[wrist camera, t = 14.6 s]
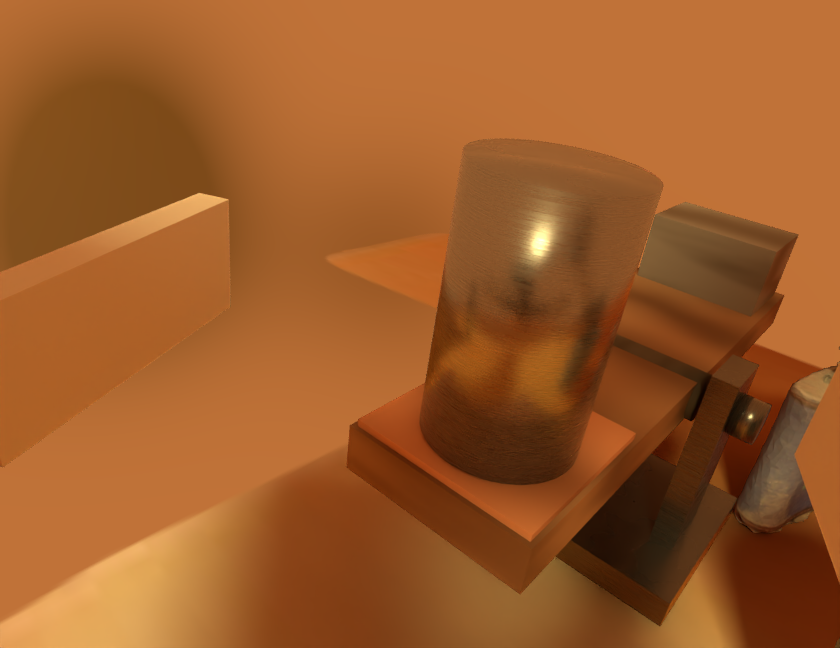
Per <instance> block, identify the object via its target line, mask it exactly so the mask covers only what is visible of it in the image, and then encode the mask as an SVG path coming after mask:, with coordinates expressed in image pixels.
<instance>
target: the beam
mask: <svg viewBox="0 0 840 648" xmlns="http://www.w3.org/2000/svg"><path fill="white" fill-rule="evenodd" d="M797 237H798V234H795V233H791V232H788V231H784V230H781V229H777V228H774V227H770V226H767V225H763V224H760V223H757V222H753V221H750V220H746V219H742V218H739V217H735V216H732V215H729V214H725V213H722V212H718V211H715V210H711V209H708V208H704V207H701V206H697V205H694V204H690V203H687V202H684V203H682V204H680V205H677V206H675V207H672V208H670V209H668V210H666V211H663V212H660V213H658V214H656V215H655V217H654V220H653V224H652V227H651V230H650V234H649V237H648V241H647V244H646V248H645V251H644V254H643V257H642V261H641V264H640V267H639V268H637V271H636V274H635V277H634V281H633V284H632V287H631V290H630V293H629V296H628V299H627V303H626V306H625V309H624V312H623V315H622V318H621V321H620V325H619V328H618V331H617V334H616V337H615V340H614V343H613V347H612V350H611V353H610V356H609V359H608V362H607V365H606V369H605V372H604V375H603V378H602V381H601V384H600V387H599V391H598V394H597V397H596V400H595V403H594V406H593V409H592V413H591V416H590V419H589V422H588V425H587V428H586V431H585V435H584V438H583V441H582V444H581V447H580V450H579V454H578V457H577V459H576V461H575V463H574V465H573V466H572V467H571V468H570V469H569V470H568V471H567V472H566V473H564V474H563V475H561V476H559V477H558V478H556V479H553V480H550V481H547V482H543V483H538V484H530V485H512V484H502V483H497V482H492V481H488V480H484V479H481V478H478V477H475V476H473V475H470V474H468V473H466V472H463V471H461V470H459V469H457V468H456V467H454V466H452V465H451V464H449V463H448V462H446V461H445V460H444V459H442V458H441V457H440V456H439V455H438V454H437V453H436V452H434V450H433V449H432V448H431V447H430V446H429V445H428V443H427V441H426V440H425V438H424V436H423V434H422V432H421V428H420V420H419V417H420V411H421V405H422V399H423V393H424V387H425V383H424V384H422V385H420V386H418V387H417V388H415V389H413V390H411V391H409V392H407V393H406V394H404V395H402V396H400V397H398V398H396V399H395V400H393V401H391V402H389V403H387V404H385V405H384V406H382V407H380V408H378V409H376V410H374V411H373V412H371V413H369V414H367V415H365V416H363V417H361V418H360V419H358V421H357V422H355V423H354V424H352V425H350V431H349V444H348V457H347V468H348V469H350V470H351V471H352V472H354V473H355V474H357V475H358V476H359V477H361V478H362V479H363V480H365V481H366V482H367V483H369V484H370V485H372V486H373V487H374V488H376V489H377V490H378V491H380V492H381V493H382V494H384V495H385V496H387V497H388V498H389V499H391V500H392V501H393V502H395V503H396V504H397V505H399V506H400V507H402V508H403V509H404V510H406V511H407V512H408V513H410V514H411V515H413V516H414V517H415V518H417V519H418V520H419V521H421V522H422V523H423V524H425V525H426V526H428V527H429V528H430V529H432V530H433V531H434V532H436V533H437V534H438V535H440V536H441V537H443V538H444V539H445V540H447V541H448V542H449V543H451V544H452V545H453V546H455V547H456V548H458V549H459V550H460V551H462V552H463V553H464V554H466V555H467V556H468V557H470V558H471V559H473V560H474V561H475V562H477V563H478V564H479V565H481V566H482V567H484V568H485V569H486V570H488V571H489V572H490V573H492V574H493V575H494V576H496V577H497V578H499V579H500V580H501V581H503V582H504V583H505V584H507V585H508V586H509V587H511V588H512V589H514V590H515V591H516V592H518V593H519V594H521V593H522V592H523V591H524V590H525V588H526V587H527V586H528V585H529V584H530V583H531V582H532V581H533V580H534V579H535V578H536V577H537V576H538V575H539V573H540V572H541V571H542V570H543V569H544V568H545V567H546V566H547V565H548V564H549V563H550V562H551V561H552V559H553V558H554V557H555V556H556V555H557V554H558V553H559V552H560V551H561V550H562V549H563V548H564V547H565V546H566V544H567V543H568V542H569V541H570V540H571V539H572V538H573V537H574V536H575V535H576V534H577V533H578V532H579V530H580V529H581V528H582V527H583V526H584V525H585V524H586V523H587V522H588V521H589V520H590V519H591V518H592V517H593V515H594V514H595V513H596V512H597V511H598V510H599V509H600V508H601V507H602V506H603V505H604V504H605V503H606V502H607V500H608V499H609V498H610V497H611V496H612V495H613V494H614V493H615V492H616V491H617V490H618V489H619V488H620V486H621V485H622V484H623V483H624V482H625V481H626V480H627V479H628V478H629V477H630V476H631V475H632V474H633V473H634V471H635V470H636V469H637V468H638V467H639V466H640V465H641V464H642V463H643V462H644V461H645V460H646V459H647V458H648V456H649V455H650V454H651V453H652V452H653V451H654V450H655V449H656V448H657V447H658V446H659V445H660V444H661V442H662V441H663V440H664V439H665V438H666V437H667V436H668V435H669V434H670V433H671V432H672V431H673V430H674V429H675V427H676V426H677V425H678V424H679V423H680V422H681V421H682V420H683V419H684V418H685V419H688V420H690V421H692V420H694V418H695V417H696V415H697V413H698V410H699V408H700V405H701V402H702V400H703V397H704V395H705V392H706V390H707V387H708V384H709V382H710V379H711V377H712V375H713V374H714V373H715V372H716V371H717V370H718V369H719V368H720V367H721V366H722V365H723V364H724V363H725V362H726V361H727V360H728V359H729V358H730V357H731V356H732V355H736V356H738V357H742V356H743V354H744V353H745V352H746V351H747V350H748V349H749V348H750V347H751V346H752V345H753V344H754V343H755V342H756V340H757V339H758V338H759V337H760V336H761V335H762V334H763V333H764V332H765V331H766V330H767V329H768V328H769V327H770V326H771V324H772V323H773V321H774V319H775V316H776V314H777V311H778V309H779V307H780V304H781V302H782V299H783V297H784V295H782V294H779V293H776V292H775V291H776V288H777V286H778V283H779V281H780V279H781V276H782V274H783V271H784V269H785V266H786V264H787V262H788V259H789V257H790V254H791V252H792V249H793V247H794V244H795V242H796V239H797Z"/></svg>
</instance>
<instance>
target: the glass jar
mask: <svg viewBox="0 0 840 648" xmlns="http://www.w3.org/2000/svg"><path fill="white" fill-rule="evenodd" d="M662 189H663V182H662V181H661V180H660V179H659V178H658V177H657V176H656V175H654V174H652V173H651V172H649V171H647V170H645V169H644V168H641V167H639V166H637V165H635V164H632V163H629V162H627V161H624V160H621V159H618V158H615V157H612V156H608V155H605V154H601V153H598V152H593V151H589V150H585V149H581V148H576V147H571V146H566V145H560V144H555V143H548V142H541V141H532V140H521V139H485V140H478V141H474V142H471V143H468V144H467V145H465V146H464V148H463V154H462V159H461V165H460V171H459V178H458V184H457V190H456V196H455V202H454V209H453V214H452V220H451V227H450V233H449V239H448V245H447V251H446V257H445V264H444V270H443V276H442V282H441V288H440V294H439V300H438V307H437V313H436V319H435V325H434V332H433V338H432V344H431V350H430V356H429V362H428V368H427V374H426V380H425V387H424V393H423V399H422V405H421V411H420V417H419V420H420V428H421V432H422V434H423V436H424V438H425V440H426V441H427V443H428V445H429V446H430V447H431V448H432V449H433V450H434V452H436V453H437V454H438V455H439V456H440V457H441V458H442V459H444V460H445V461H446V462H448V463H449V464H451V465H452V466H454V467H456V468H457V469H459V470H461V471H463V472H466V473H468V474H470V475H473V476H475V477H478V478H481V479H484V480H488V481H492V482H497V483H502V484H512V485H530V484H538V483H543V482H547V481H550V480H553V479H556V478H558V477H559V476H561V475H563V474H564V473H566V472H567V471H568V470H569V469H570V468H571V467H572V466H573V465H574V463H575V461H576V459H577V457H578V454H579V450H580V447H581V444H582V441H583V438H584V435H585V431H586V428H587V425H588V422H589V419H590V416H591V413H592V409H593V406H594V403H595V400H596V397H597V394H598V391H599V387H600V384H601V381H602V378H603V375H604V372H605V369H606V365H607V362H608V359H609V356H610V353H611V350H612V347H613V343H614V340H615V337H616V334H617V331H618V328H619V325H620V321H621V318H622V315H623V312H624V309H625V306H626V303H627V299H628V296H629V293H630V290H631V287H632V284H633V281H634V277H635V274H636V271H637V268H638V265H639V261H640V258H641V255H642V252H643V249H644V246H645V243H646V240H647V236H648V233H649V230H650V227H651V224H652V220H653V218H654V214H655V211H656V208H657V205H658V202H659V199H660V196H661V192H662Z"/></svg>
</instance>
